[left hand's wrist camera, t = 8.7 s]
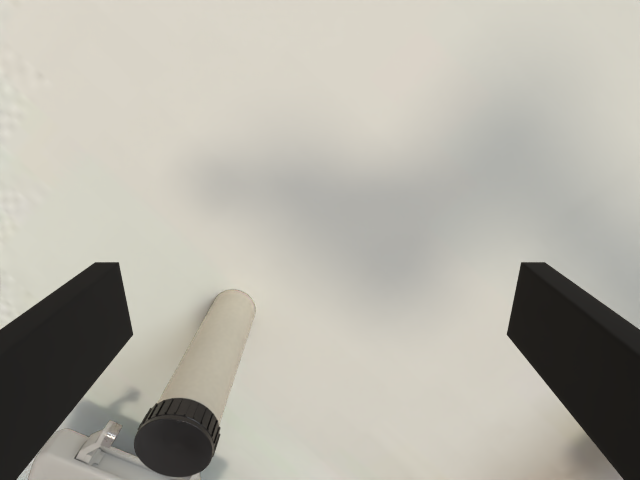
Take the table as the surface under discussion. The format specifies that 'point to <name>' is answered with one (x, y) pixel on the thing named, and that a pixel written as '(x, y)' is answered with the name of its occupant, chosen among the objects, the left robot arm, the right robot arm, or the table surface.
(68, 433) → the right robot arm
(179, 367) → the jar
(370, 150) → the table surface
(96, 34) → the table surface
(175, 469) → the lid
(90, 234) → the table surface
